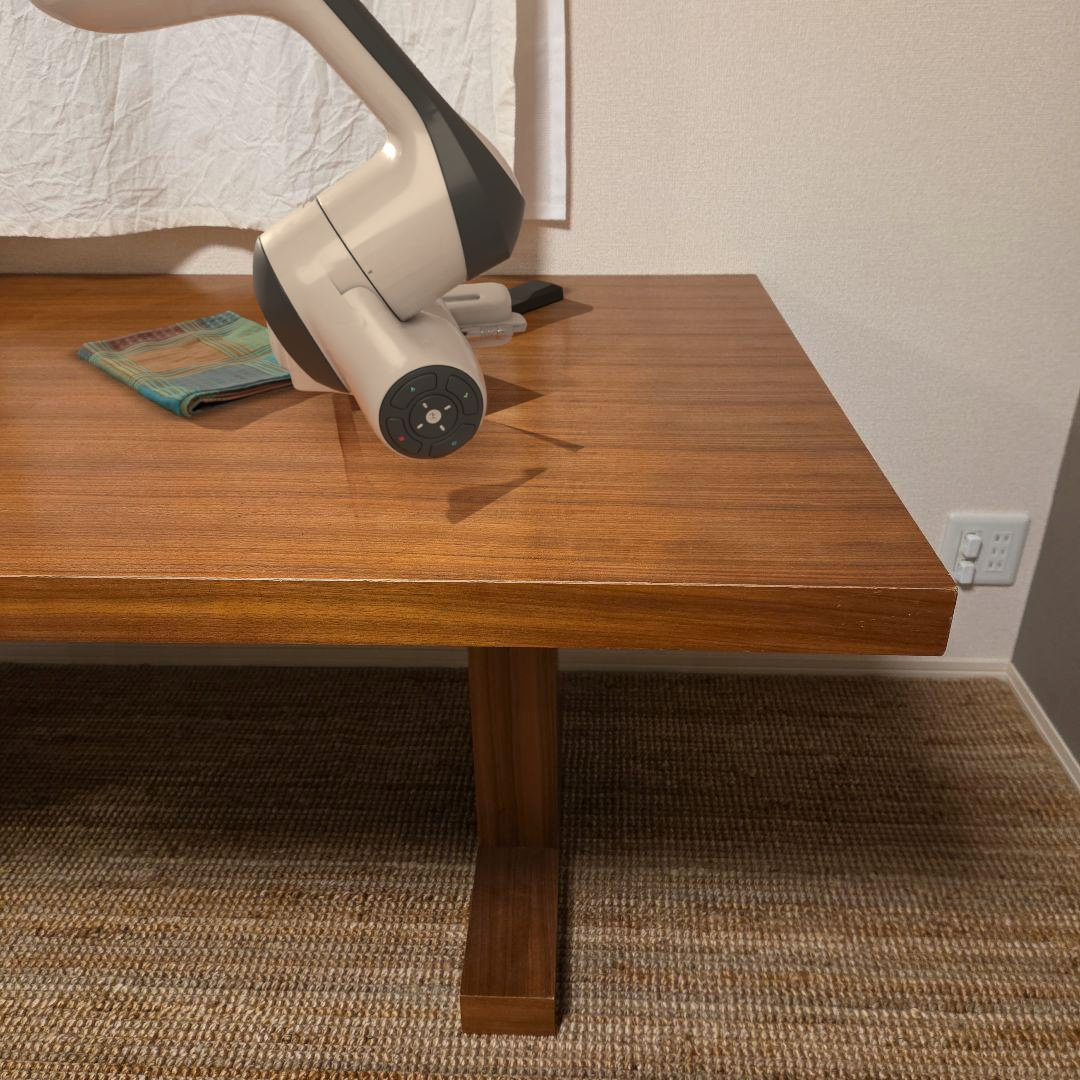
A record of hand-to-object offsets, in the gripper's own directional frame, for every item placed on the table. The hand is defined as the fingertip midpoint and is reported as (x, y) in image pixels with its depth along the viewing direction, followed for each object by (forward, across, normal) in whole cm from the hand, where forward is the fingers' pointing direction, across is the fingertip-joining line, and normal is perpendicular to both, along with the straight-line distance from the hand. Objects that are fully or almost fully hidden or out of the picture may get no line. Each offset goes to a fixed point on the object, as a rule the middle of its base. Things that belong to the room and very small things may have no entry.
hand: (381, 295), depth 90 cm
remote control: (+20, -16, +8) cm, 27 cm away
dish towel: (+7, +16, +8) cm, 19 cm away
